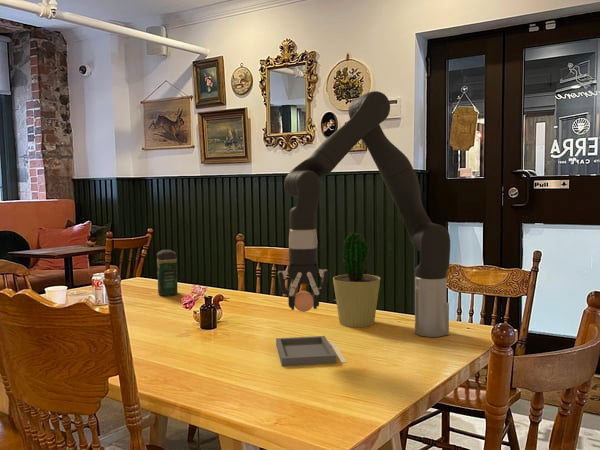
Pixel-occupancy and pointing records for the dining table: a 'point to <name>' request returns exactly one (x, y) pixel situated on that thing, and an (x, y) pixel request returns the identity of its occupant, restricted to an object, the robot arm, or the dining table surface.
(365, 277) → the potted cactus
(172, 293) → the coffee jar
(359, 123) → the robot arm
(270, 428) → the dining table surface
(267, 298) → the dining table surface
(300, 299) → the ball
